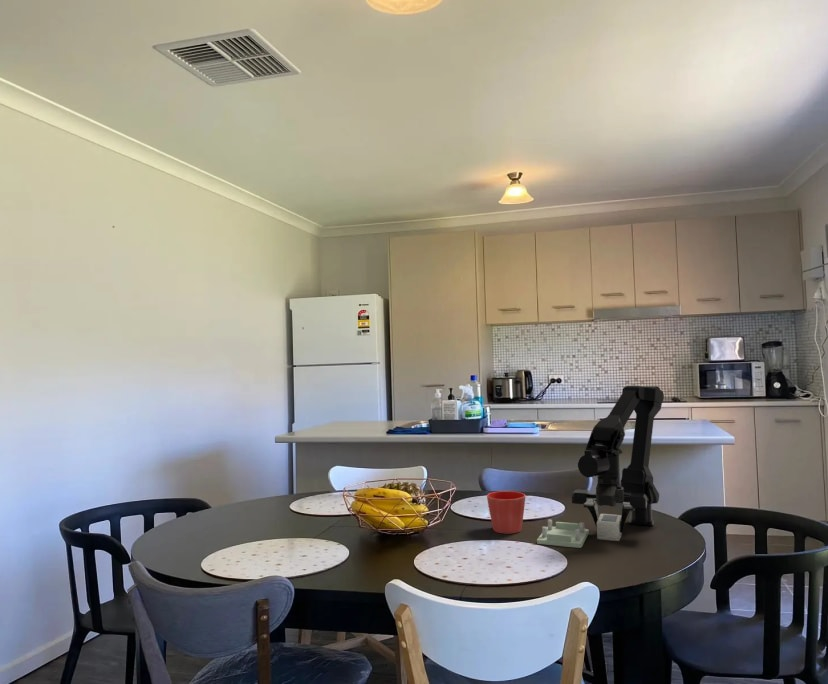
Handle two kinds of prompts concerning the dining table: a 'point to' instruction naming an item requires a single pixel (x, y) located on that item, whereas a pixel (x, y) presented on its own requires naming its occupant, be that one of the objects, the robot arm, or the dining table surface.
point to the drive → (609, 527)
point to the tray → (563, 534)
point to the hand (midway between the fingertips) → (609, 531)
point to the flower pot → (506, 511)
